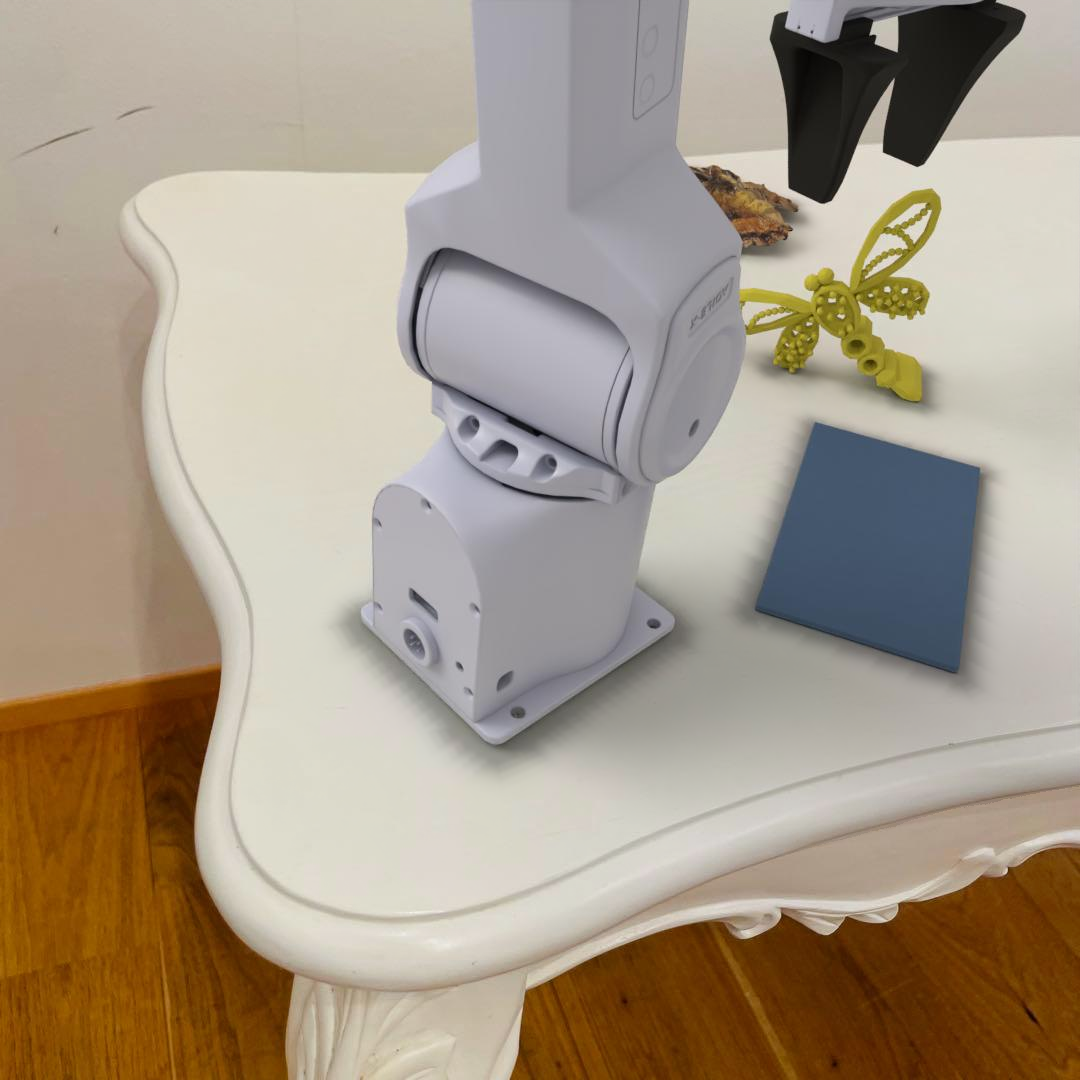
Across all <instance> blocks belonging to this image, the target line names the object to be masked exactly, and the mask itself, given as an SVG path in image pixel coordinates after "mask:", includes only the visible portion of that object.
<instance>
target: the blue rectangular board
mask: <svg viewBox="0 0 1080 1080" xmlns="http://www.w3.org/2000/svg"><path fill="white" fill-rule="evenodd" d="M980 473H981V467H979V466H976V465H972V464H969V463H966V462H961V461H957V460H954V459H950V458H947V457H943V456H939V455H935V454H933V453H928V452H925V451H921V450H918V449H914V448H910V447H907V446H904V445H901V444H900V445H899V444H896V443H892V442H889V441H886V440H882V439H878V438H874V437H872V436H867V435H864V434H860V433H857V432H853V431H849V430H846V429H842V428H838V427H835V426H831V425H827V424H825V423H820V422H817V421H815V422H814V423H813V427H812V429H811V434H810V436H809V439H808V441H807V445H806V449H805V452H804V455H803V458H802V461H801V464H800V467H799V470H798V473H797V477H796V480H795V483H794V486H793V489H792V493H791V496H790V499H789V502H788V505H787V507H786V511H785V514H784V517H783V521H782V523H781V526H780V530H779V533H778V535H777V538H776V542H775V546H774V548H773V552H772V554H771V558H770V561H769V564H768V568H767V570H766V573H765V574H766V575H765V576H764V580H763V583H762V586H761V589H760V592H759V595H758V599H757V602H756V605H755V608H754V609H755V611H758V612H762V613H765V614H767V615H771V616H775V617H778V618H781V619H784V620H787V621H790V622H793V623H796V624H799V625H803V626H806V627H808V628H812V629H815V630H818V631H822V632H825V633H828V634H831V635H834V636H837V637H841V638H843V639H847V640H851V641H854V642H857V643H860V644H863V645H866V646H869V647H872V648H876V649H878V650H881V651H885V652H888V653H891V654H895V655H897V656H900V657H903V658H906V659H911V660H913V661H916V662H919V663H923V664H926V665H929V666H932V667H937V668H939V669H941V670H945V671H948V672H950V673H955V674H957V673H958V671H959V669H960V662H961V653H962V643H963V635H964V625H965V617H966V607H967V599H968V597H967V596H968V588H969V587H968V586H969V577H970V569H971V568H970V567H971V558H972V550H973V540H974V539H973V538H974V530H975V520H976V511H977V502H978V493H979V482H980Z"/></svg>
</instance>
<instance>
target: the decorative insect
mask: <svg viewBox="0 0 1080 1080" xmlns="http://www.w3.org/2000/svg"><path fill="white" fill-rule="evenodd" d="M919 204H920V205H921V204H925V205H924V207H923V208H921V209H920V210H919V213H916V214H914V216H913V217H909V218H908V220H906V221H905V220H904V221H902V223H901V224H899V223H898V224H897V223H896V224H895V225H894V226H893V227H891V226H889V225H891V224H892V223H893V222H894V221H895V220H896V219H898V218H899V217H900V216H902V214H905V212H907V211H908V210H909V209H910V208H911V207H913V206H914V205H919ZM929 211H930V214H929V217H928V220H927V221H926V225H925V228H924V230H923V232H922V233H921V235H920V236H919V237H918V238H917V239H916V241H915V242H914V239H913V238H911V236H910V234H909V233H905V230H907V229H908V228H909V227H912V226H915V225H916V223H917V222H921V221H922V220H923V217H926V216H927V215H928V213H929ZM941 212H942V200H941V196H940V195H938V193H937V192H936V191H935V190H934V189H933V188H925V189H918V190H912V191H910V192H909V193H907V194H906V195H904V196H902V197H901V198H899V199H898V200H896V201H895V202H893V203H892V204H891V205H890V206H889V207H888V208H887V209H886V210H885V211H884V213H882V215H881V216H880V217H879V219H877V221H876V222H874V224H873V225H872V226H871V228H870V229H869V232H868V234H867V236H866V238H865V240H864V242H863V244H862V246H861V248H860V251H859V253H858V255H857V256H856V259H855V261H854V263H853V265H852V268H851V271H850V272H851V273H850V278H849V286H848V285H847V284H846V283H845V282H844V281H842V280H835V273H834V270H833V269H831V268H830V267H823V268H821V269H820V270H818V272H817V274H814V273H812V274H808V275H807V276H806V277H805V279H804V281H803V286H804V288H805V289H806V290H807V291H809V292H813V293H812V296H811V298H810V301H808V300H806V299H804V298H801V297H798V296H796V295H792V294H791V293H784V292H779V291H774V290H767V289H762V288H755V287H752V288H751V287H750V288H740V306H741V310H742V311H743V307H744V306H745V305H746V303H747V302H748V303H749V302H750V303H760V304H761V303H762V304H772V305H777V306H779V307H778V308H777V307H773V308H772V309H770V308H768V309H766V310H765V311H763V310H761V311H759V313H758V314H754V315H753V316H752V318H751V319H750V320H749V322H748V324H745V328H746V336H752V335H756V334H760V333H765V332H769V331H772V330H777V329H781V328H783V330H781V332H780V335H779V338H778V341H777V343H776V344H775V348H774V349H773V351H772V354H773V356H775V357H774V359H773V361H772V363H773V366H778V365H779V366H780V367H781V368H786V369H787V368H788V371H789V373H791V374H794V373H795V372H796V369H798V368H800V369H804V368H806V362H807V361H808V359H809V358H811V357H812V356H813V355H814V350H815V348H816V346H817V345H818V343H819V339H820V327H821V328H822V329H823V330H824V331H825V332H827V333H828V334H829V335H831V336H833V337H835V338H837V339H840V349H841V352H842V355H844V356H845V357H847V358H848V359H849V360H857V363H856V365H857V370H858V372H860V373H861V374H862V375H864V376H870V377H873V376H875V381H876V385H877V387H881V388H887V389H891V390H892V391H894V392H895V394H897V395H898V396H899V397H900V398H901V399H903V400H906V401H910V402H920V401H921V399H922V397H923V378H922V374H923V373H922V365H921V364H920V363H919V361H918V360H917V358H915V357H914V356H912V355H909V354H905V353H903V352H900V351H895V350H894V349H890V348H886V344H885V343H884V341H883V339H882V337H880V336H877V335H875V334H873V321H872V320H871V319H870V318H869V317H868V315H865V314H862V309H861V307H860V304H859V303H861V304H862V305H864V306H866V307H868V308H869V312H870V313H872V314H875V313H876V312H877V313H881V314H888V318H889V320H891V321H894V320H895V319H896V318H897V316H898V317H904V316H906V319H907V320H909V321H911V320H913V319H914V318H915V316H916V315H918V313H919V315H920V316H924V315H925V314H926V310H925V309H927V305H928V303H929V299H930V297H931V293H930V291H929V290H928V288H927V287H926V285H925V284H924V282H922V281H919V280H917V279H914V278H911V277H902V276H892V275H893V274H895V273H896V272H898V271H899V270H901V269H902V268H903V267H905V266H906V265H907V264H908V263H909V262H910V261H911V260H912V259H913V258H914V256H915V255H917V254H918V252H919V251H920V250H922V248H923V247H924V246H925V245H926V244H927V242H928V241H929V239H930V238H931V237H932V235H933V233H934V232H935V230H936V226H937V223H938V221H939V217H940V214H941ZM883 234H885V235H892V236H897V237H898V238H900V239H902V241H903V242H905V243H904V244H905V245H906V246H907V248H902V247H897V248H889V249H888V250H887V251H885V250H884V251H882V252H881V254H879V255H876V256H875V257H874V258H873V259H872V260H870V261H869V263H867V264H866V265H865V261H866V260H867V258H868V257H869V255H870V253H871V251H872V250H873V248H874V247H875V245H876V244H877V241H878V240H879V239H880V236H881V235H883ZM895 255H896V256H899V257H898V258H897V259H895V260H894V261H893V262H892V263H891V264H889V265H888V266H886V267H884V268H881V270H879V271H877V272H875V273H874V274H871V275H869V272H872V271H873V269H874V268H875V267H877V266H878V265H879V264H880V263H882V262H883V260H887V259H888V258H889V257H894V256H895ZM864 265H865V267H864ZM868 275H869V276H868ZM867 276H868V277H867ZM887 287H889V289H890V290H889V291H885V288H887ZM904 289H907V292H905V293H903V292H902V291H903V290H904ZM870 295H872V296H870ZM830 299H831V300H834V299H835V301H832V302H831V301H830V302H829V300H830ZM791 312H792V313H791ZM784 313H787V315H786V316H782V317H780V318H777V319H774V320H772V321H769V322H765V323H759V324H757V322H759V321H760V320H761V319H764V318H766V317H771V316H772V315H773V316H777V315H778V314H781V315H782V314H784ZM839 315H840V316H844V317H843V318H842V317H839ZM808 323H809V325H807V324H808ZM794 331H795V332H797V334H795V332H794Z"/></svg>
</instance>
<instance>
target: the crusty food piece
mask: <svg viewBox="0 0 1080 1080" xmlns="http://www.w3.org/2000/svg"><path fill="white" fill-rule="evenodd" d="M688 166H689V167H690V169H691V170H692V171H693V172H696V173H700V174H702V175H705V176H706V177H707V178H708V180H706V181H704V182H701V183H702V184H703V186H704V187H705V188H706V189H707V191H708V192H709V193H710V195H711V196H712V197H713V199H714V200H715V201H716V202H717V204H718V205H719V206H720V208H721V209H722V211H723V212H724V213H725V215H726V216H727V218H728V219H729V220H730V222H731V223H732V225H733V226H734V227H735V229H736V230H737V232H738V233H739V235H740V237H741V239H742V241H743V244H742V248H749V247H750V246H754V247H770V246H771V245H772V244H775V243H776V242H779V241H780V240H781V241H787V240H788V238H789V232H790V233H791V232H793V230H794V228H793V227H792V226H790V224H788V223H787V222H785V221H784V218H783V216H782V214H781V212H779V211H778V210H776V209H775V208H777V209H782V210H784V211H787V212H790V213H793V214H795V213H798V212H799V205H798V204H796V203H794V202H793V200H791V199H790V198H786V197H784V196H781V195H779V194H778V193H776V192H774V191H771V190H769V189H768V188H767V187H766V186H765V183H762V184H760V183H755V182H753V181H742V179H741V176H739V175H737V174H735V173H734V172H733V171H731V170H730V169H723V168H721V166H718V165H715V164H710V165H708V166H706V167H705V166H703V167H699V166H692V165H689V164H688Z"/></svg>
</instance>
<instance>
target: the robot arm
mask: <svg viewBox="0 0 1080 1080" xmlns="http://www.w3.org/2000/svg"><path fill="white" fill-rule="evenodd" d="M469 5H470V21H471V38H472V39H471V40H472V41H471V43H472V58H473V59H472V60H473V76H474V95H475V113H476V131H477V140H474V141H473V142H471V143H470V144H467V145H466V146H464V147H463V148H461V149H459V150H457V151H455V152H454V153H453V154H452V155H450V156H449V157H448V158H446V160H444V161H442V162H441V163H440V164H439V165H438V166H436V167H435V168H434V169H433V170H432V171H431V172H430V173H429V174H428V175H427V176H426V177H425V179H424V180H423V181H422V183H421V184H420V185H419V186H418V187H417V189H416V190H415V191H414V193H413V194H412V195H411V196H410V198H409V199H408V200H407V201H406V203H405V204H404V209H403V210H404V219H405V227H406V244H407V245H406V246H407V248H406V260H405V265H404V271H403V274H402V277H401V281H400V284H399V289H398V294H397V301H396V335H397V343H398V347H399V350H400V353H401V356H402V358H403V360H404V362H405V364H406V365H407V366H408V367H409V369H410V370H412V372H413V373H415V374H416V375H418V376H419V377H421V378H423V379H425V380H427V381H428V382H431V395H430V396H431V397H430V403H431V404H430V413H431V414H432V415H434V416H435V417H437V418H439V419H440V420H441V421H442V422H443V423H444V424H445V426H444V428H443V429H442V431H441V434H440V435H439V437H438V438H437V439H436V440H435V442H434V443H433V444H432V446H431V447H430V448H429V449H428V451H426V453H425V454H424V455H422V456H421V457H420V459H418V460H417V461H416V462H415V463H414V464H413V465H411V466H410V467H408V468H407V469H406V470H405V471H404V472H402V473H401V474H399V475H398V476H396V477H394V478H393V479H392V480H390V481H389V482H387V483H385V485H383V486H382V487H381V488H380V490H379V491H378V492H377V494H376V496H375V498H374V500H373V505H372V510H371V552H372V553H371V554H372V559H371V560H372V561H371V563H372V564H371V565H372V601H369V602H367V603H366V604H365V605H364V606H362V607H361V609H360V620H361V622H362V623H363V624H364V625H365V626H366V627H367V628H368V629H369V630H370V631H371V632H372V633H373V634H374V635H375V636H376V637H377V638H378V639H379V640H380V641H381V642H382V643H383V644H385V646H386V647H387V648H389V650H390V651H392V652H393V653H394V654H395V655H396V656H397V658H399V660H401V661H402V662H403V663H404V664H405V665H406V666H407V667H408V668H409V670H411V671H412V672H413V673H414V674H416V676H417V677H419V678H420V679H421V680H422V681H423V682H424V683H425V684H426V685H427V686H428V687H429V688H430V689H431V690H432V691H433V693H435V694H436V695H437V696H438V697H439V698H440V699H441V700H442V701H443V702H444V703H445V704H446V705H447V706H448V707H449V708H450V709H452V711H453V712H455V713H456V714H457V716H459V717H460V718H461V719H462V720H463V721H464V722H465V723H466V724H467V725H468V726H469V727H470V728H471V729H472V730H473V731H474V732H475V733H476V734H477V735H478V736H479V737H480V738H481V739H482V740H483V741H485V742H486V743H488V744H490V745H502V744H504V743H506V742H508V741H509V740H510V739H512V738H514V737H515V736H517V735H518V734H519V733H521V732H522V731H524V730H526V729H527V728H528V727H531V725H533V724H535V723H536V722H537V721H539V720H541V719H542V718H544V717H545V716H547V715H548V714H550V713H551V712H552V711H554V710H556V709H557V708H558V707H560V706H562V705H563V704H564V703H566V702H567V701H569V700H571V699H572V698H573V697H575V696H577V695H578V694H579V693H581V692H582V691H584V690H585V689H587V688H588V687H589V686H591V685H593V684H594V683H596V682H597V681H599V680H601V679H602V678H603V677H605V676H607V675H608V674H610V673H611V672H612V671H614V670H615V669H617V668H619V666H621V665H623V664H624V663H626V662H628V661H629V660H631V659H632V658H633V657H635V656H637V654H639V653H641V652H643V651H644V650H645V649H647V648H648V647H650V646H651V645H653V644H654V643H656V642H657V641H659V640H660V639H662V638H663V637H665V636H666V635H668V634H669V633H671V632H672V631H673V630H674V627H675V622H676V617H675V616H674V615H673V614H672V612H671V611H669V610H668V609H666V607H664V606H663V605H661V604H660V603H659V602H657V601H656V600H655V599H654V598H652V597H651V596H650V595H648V594H647V593H646V592H644V591H643V590H642V589H641V588H640V587H639V586H637V585H636V582H637V577H638V573H639V570H640V569H639V568H640V564H641V559H642V554H643V549H644V544H645V539H646V534H647V530H648V524H649V520H650V515H651V511H652V506H653V500H654V496H655V492H656V485H658V484H660V483H661V482H663V481H665V480H666V479H669V478H671V477H673V476H675V475H677V474H679V473H680V472H682V471H683V470H684V469H686V468H687V467H688V466H689V465H690V464H691V463H692V462H693V461H694V460H695V459H696V458H697V456H698V455H699V454H700V453H701V451H702V450H703V448H704V447H705V446H706V445H707V443H708V442H709V440H710V439H711V438H712V435H713V434H714V432H715V430H716V429H717V427H718V425H719V424H720V421H721V419H722V418H723V416H724V414H725V411H726V410H727V407H728V405H729V403H730V401H731V398H732V396H733V393H734V391H735V388H736V385H737V383H738V380H739V378H740V373H741V371H742V366H743V363H744V358H745V353H746V348H747V347H746V346H747V335H746V328H745V321H744V320H745V319H744V317H743V309H742V310H741V306H740V289H741V276H742V275H741V274H742V266H741V257H742V250H743V247H742V244H743V241H742V239H741V237H740V235H739V233H738V232H737V230H736V229H735V227H734V226H733V225H732V223H731V222H730V220H729V219H728V218H727V216H726V215H725V213H724V212H723V211H722V209H721V208H720V206H719V205H718V204H717V202H716V201H715V200H714V199H713V197H712V196H711V195H710V193H709V192H708V191H707V189H706V188H705V187H704V186H703V184H702V183H703V182H701V180H700V179H699V178H698V176H697V175H696V174H695V172H694V171H692V170H691V169H690V167H689V166H690V165H689V164H688V163H687V162H686V160H685V158H684V157H683V155H682V154H681V152H680V150H679V149H678V147H677V138H678V137H677V136H678V135H677V134H678V125H679V116H680V115H679V114H680V105H681V104H680V102H681V93H682V81H683V71H684V61H685V49H686V38H687V30H688V28H687V27H688V19H689V9H690V8H689V7H690V0H469ZM895 17H897V51H895V50H892V49H890V48H888V47H884V46H882V45H879V44H876V40H877V34H875V33H873V34H871V32H872V28H873V25H874V23H876V22H880V21H884V20H888V19H892V18H895ZM1026 18H1027V15H1026V12H1024V11H1023V10H1021V9H1019V8H1016V7H1013V6H1010V5H1007V4H1004V3H1001V2H998V1H997V0H790V3H789V7H788V10H786V11H781V12H778V13H776V14H775V15H774V16H773V21H772V26H771V29H770V35H769V42H770V45H771V47H772V50H773V53H774V56H775V59H776V63H777V66H778V70H779V74H780V78H781V83H782V88H783V93H784V100H785V108H786V123H787V127H786V128H787V187H788V189H789V190H790V191H792V192H795V193H796V194H799V195H801V196H803V197H805V198H808V199H809V200H812V201H814V202H816V203H818V204H821V205H825V204H828V203H830V202H832V201H834V198H835V197H836V195H837V194H838V192H839V190H840V188H841V186H842V184H843V182H844V179H845V178H846V175H847V173H848V171H849V168H850V166H851V163H852V160H853V157H854V154H855V152H856V150H857V147H858V144H859V141H860V139H861V136H862V134H863V132H864V130H865V128H866V126H867V124H868V122H869V120H870V118H871V116H872V114H873V112H874V110H875V109H876V107H877V105H878V104H879V101H880V100H881V98H882V97H883V95H884V94H885V92H886V91H887V90H888V88H889V87H890V85H891V83H892V82H893V85H892V90H891V95H890V99H889V103H888V109H887V113H886V118H885V123H884V128H883V137H882V138H883V139H882V153H883V154H885V155H887V156H890V157H892V158H895V159H897V160H899V161H900V162H904V163H906V164H908V165H910V166H913V167H915V168H919V167H921V166H924V165H925V164H926V162H927V161H928V160H929V159H930V157H931V155H932V154H933V152H934V151H935V149H936V147H937V146H938V144H939V142H940V141H941V139H942V137H943V136H944V133H945V132H946V130H947V128H948V127H949V125H950V124H951V122H952V120H953V119H954V117H955V115H956V113H957V112H958V111H959V109H960V107H961V106H962V104H963V102H964V100H965V99H966V98H967V96H968V95H969V93H970V92H971V90H972V89H973V87H974V86H975V84H976V83H977V82H978V80H979V79H980V77H981V76H982V75H983V74H984V73H985V71H986V70H987V69H988V68H989V66H990V65H991V64H992V63H993V62H994V60H995V59H996V58H997V57H998V56H999V55H1000V54H1001V53H1002V52H1003V51H1004V49H1005V48H1006V47H1007V46H1009V44H1010V43H1011V42H1013V40H1014V39H1016V38H1017V36H1019V35H1020V33H1021V32H1022V30H1023V27H1024V24H1025V22H1026ZM688 165H689V166H688ZM653 627H654V628H653ZM513 715H520V716H521V717H520V718H519V717H515V716H513Z"/></svg>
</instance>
